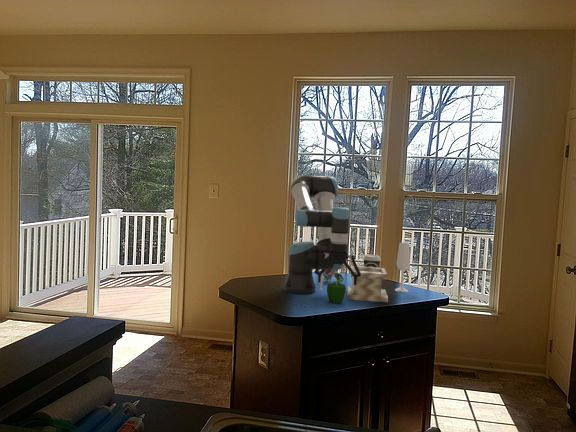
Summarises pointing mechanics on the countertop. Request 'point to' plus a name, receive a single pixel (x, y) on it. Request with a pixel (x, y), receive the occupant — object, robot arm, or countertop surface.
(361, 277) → the display stand
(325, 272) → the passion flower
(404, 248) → the champagne flute
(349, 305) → the countertop surface
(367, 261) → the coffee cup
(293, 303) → the countertop surface
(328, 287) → the bell pepper
